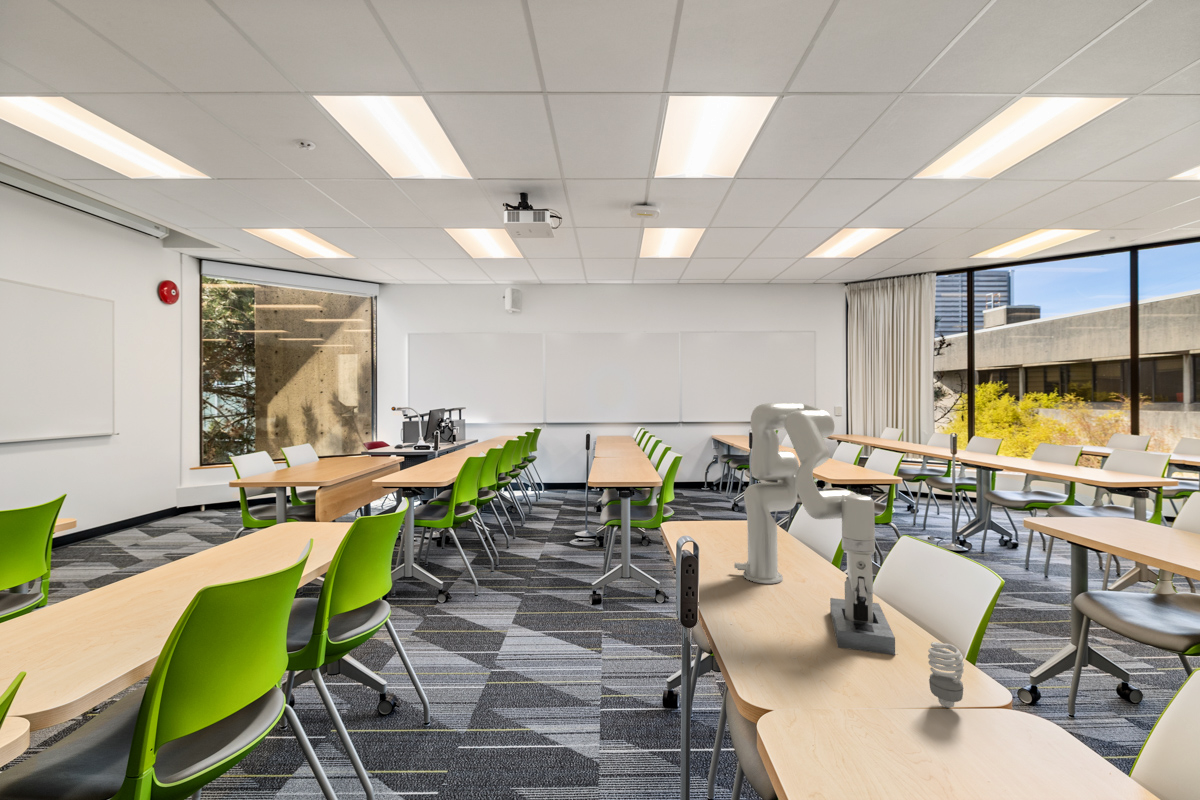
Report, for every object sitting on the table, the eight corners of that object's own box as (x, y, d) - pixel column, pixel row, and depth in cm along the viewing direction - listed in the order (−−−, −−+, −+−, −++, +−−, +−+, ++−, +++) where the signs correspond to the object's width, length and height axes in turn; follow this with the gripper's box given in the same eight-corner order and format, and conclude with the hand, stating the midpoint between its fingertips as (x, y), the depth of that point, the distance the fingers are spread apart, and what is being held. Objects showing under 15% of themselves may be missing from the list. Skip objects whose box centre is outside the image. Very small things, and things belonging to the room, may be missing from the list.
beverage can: (862, 633, 125) (861, 585, 126) (839, 624, 131) (839, 577, 131) (878, 628, 128) (878, 580, 129) (855, 619, 134) (855, 573, 134)
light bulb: (966, 707, 97) (965, 643, 97) (962, 720, 93) (961, 653, 93) (931, 695, 100) (931, 634, 101) (925, 708, 96) (924, 644, 97)
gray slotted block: (837, 647, 121) (837, 629, 121) (830, 612, 142) (830, 597, 142) (895, 655, 117) (895, 637, 117) (878, 618, 138) (878, 602, 138)
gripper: (880, 555, 120) (881, 631, 120) (869, 537, 137) (870, 604, 136) (845, 552, 123) (846, 626, 123) (838, 535, 139) (839, 601, 139)
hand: (858, 614), depth 130 cm, fingers closed on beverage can, 6 cm apart
